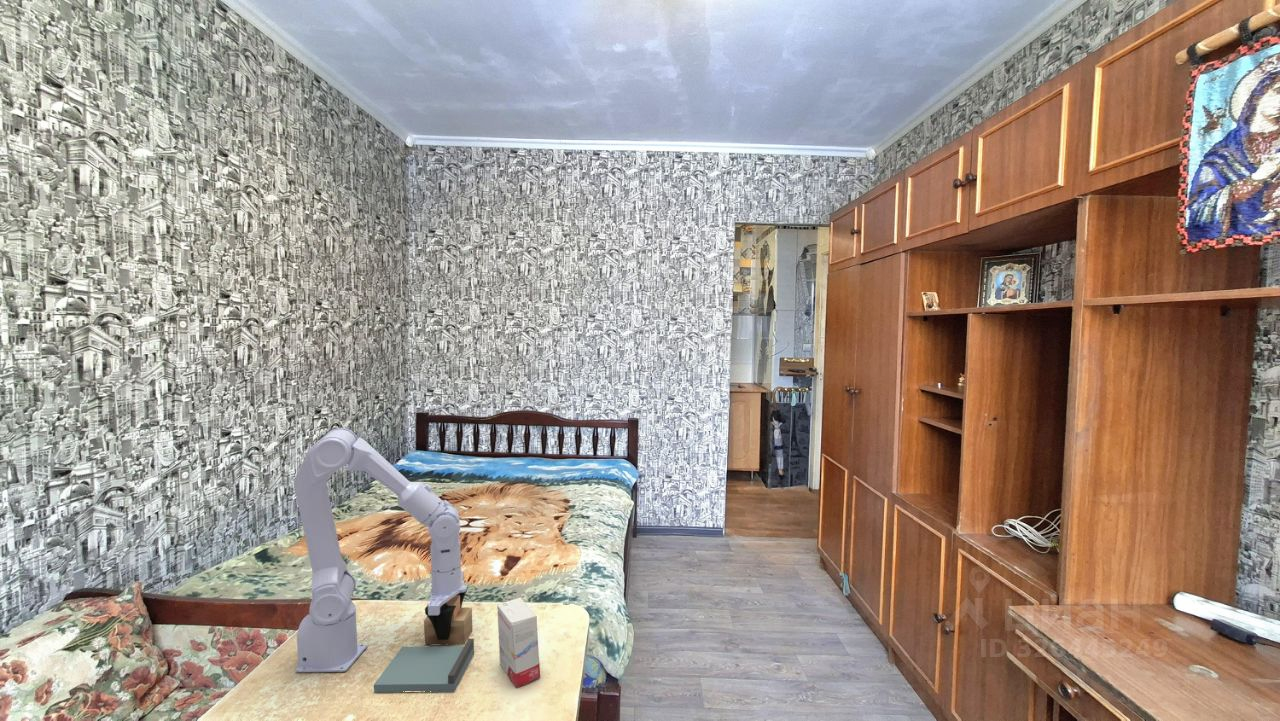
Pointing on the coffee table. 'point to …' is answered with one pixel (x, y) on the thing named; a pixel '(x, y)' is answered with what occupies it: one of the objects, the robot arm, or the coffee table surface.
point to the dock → (426, 669)
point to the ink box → (518, 641)
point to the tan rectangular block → (452, 629)
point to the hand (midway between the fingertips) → (448, 630)
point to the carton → (454, 602)
